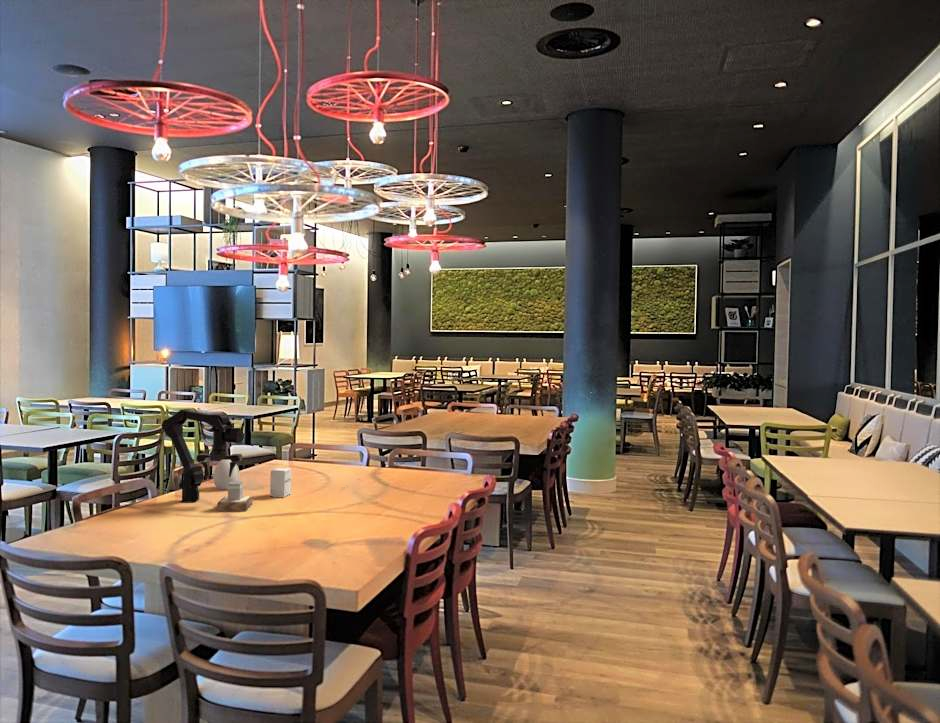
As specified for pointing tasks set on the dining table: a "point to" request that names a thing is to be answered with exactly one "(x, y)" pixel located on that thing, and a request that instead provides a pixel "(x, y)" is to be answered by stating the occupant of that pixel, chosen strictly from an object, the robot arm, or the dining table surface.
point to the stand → (234, 504)
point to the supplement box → (280, 482)
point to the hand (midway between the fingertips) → (219, 476)
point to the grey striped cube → (235, 490)
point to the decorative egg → (225, 475)
